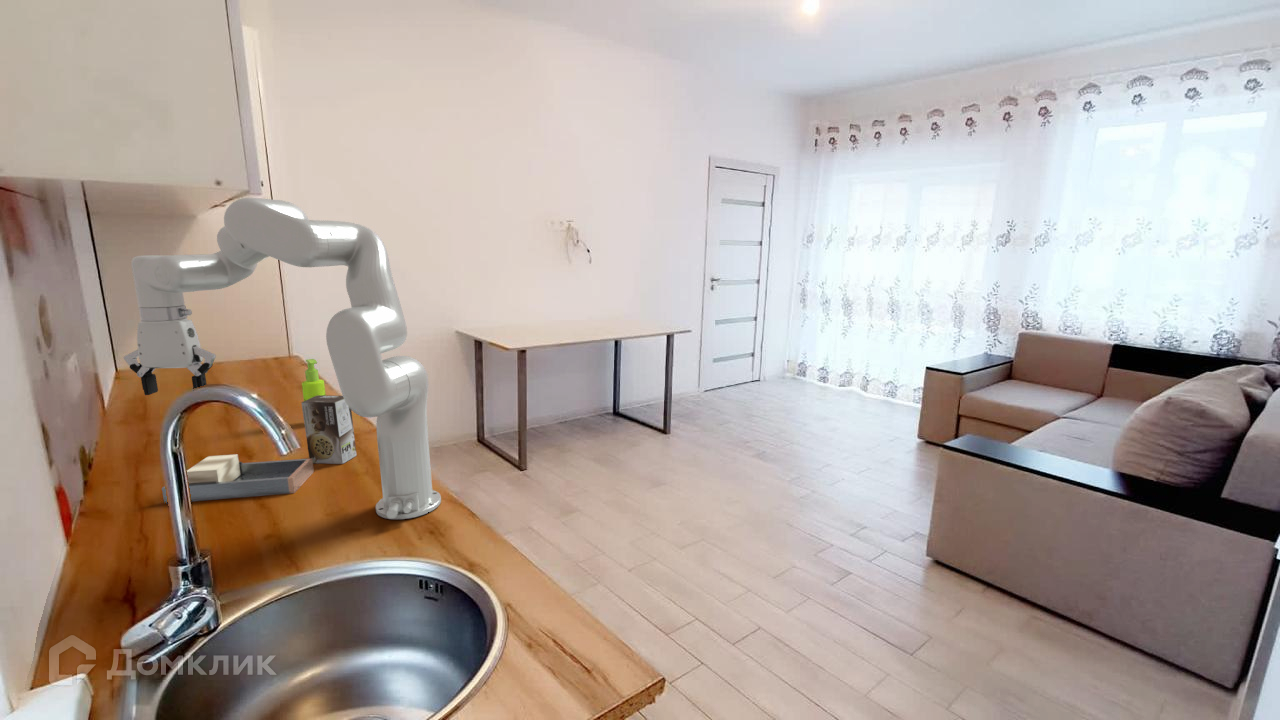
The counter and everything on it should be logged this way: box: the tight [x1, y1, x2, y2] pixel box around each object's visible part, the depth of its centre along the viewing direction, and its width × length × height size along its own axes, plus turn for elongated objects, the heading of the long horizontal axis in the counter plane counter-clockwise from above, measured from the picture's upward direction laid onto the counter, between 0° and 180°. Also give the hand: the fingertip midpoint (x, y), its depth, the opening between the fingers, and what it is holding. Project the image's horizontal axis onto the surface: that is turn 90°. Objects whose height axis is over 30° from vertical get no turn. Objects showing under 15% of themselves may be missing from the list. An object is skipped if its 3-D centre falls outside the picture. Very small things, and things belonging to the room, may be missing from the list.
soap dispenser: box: [301, 358, 327, 401], centre depth 171 cm, size 6×7×20 cm
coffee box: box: [300, 394, 357, 465], centre depth 142 cm, size 9×6×16 cm
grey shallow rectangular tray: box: [161, 457, 315, 504], centre depth 127 cm, size 12×25×4 cm, turn 102°
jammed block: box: [186, 453, 241, 483], centre depth 126 cm, size 9×6×5 cm, turn 12°
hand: (176, 393), depth 123 cm, fingers open, 9 cm apart
